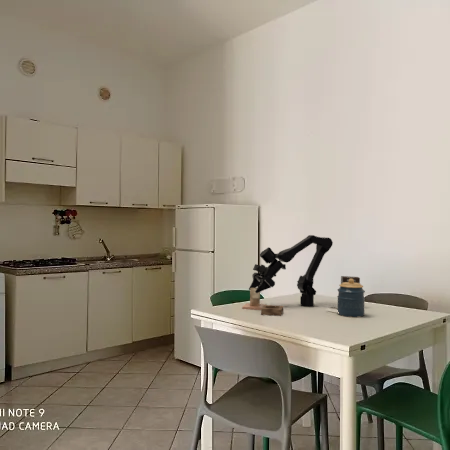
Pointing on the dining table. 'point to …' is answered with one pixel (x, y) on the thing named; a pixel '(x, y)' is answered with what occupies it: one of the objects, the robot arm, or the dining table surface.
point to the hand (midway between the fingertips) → (252, 291)
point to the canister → (351, 299)
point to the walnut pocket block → (272, 310)
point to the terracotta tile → (247, 306)
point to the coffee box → (346, 278)
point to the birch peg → (254, 297)
